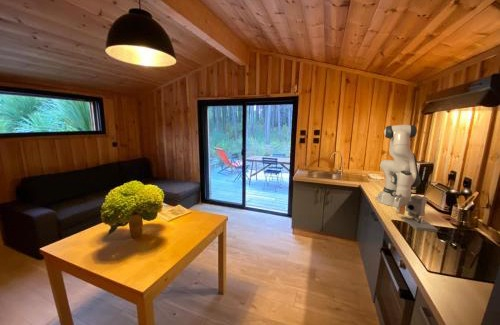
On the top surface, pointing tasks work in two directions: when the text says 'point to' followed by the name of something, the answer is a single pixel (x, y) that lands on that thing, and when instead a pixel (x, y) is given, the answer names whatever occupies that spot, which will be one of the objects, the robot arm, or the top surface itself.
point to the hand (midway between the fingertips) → (400, 210)
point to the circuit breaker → (416, 206)
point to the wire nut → (401, 210)
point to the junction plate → (420, 224)
